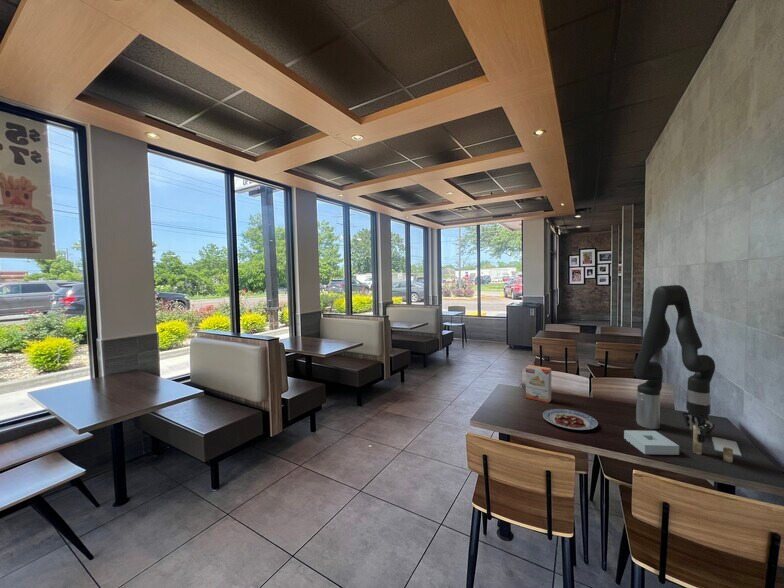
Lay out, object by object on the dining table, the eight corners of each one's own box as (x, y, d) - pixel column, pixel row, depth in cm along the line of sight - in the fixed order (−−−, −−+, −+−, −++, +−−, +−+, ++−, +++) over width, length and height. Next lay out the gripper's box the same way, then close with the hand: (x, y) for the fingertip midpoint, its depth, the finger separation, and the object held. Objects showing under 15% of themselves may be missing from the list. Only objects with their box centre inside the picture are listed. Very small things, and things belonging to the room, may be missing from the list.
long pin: (691, 451, 143) (691, 424, 143) (697, 451, 143) (698, 424, 142) (696, 454, 140) (697, 427, 140) (703, 454, 140) (704, 427, 140)
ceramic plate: (606, 435, 159) (606, 429, 159) (550, 431, 164) (550, 425, 164) (586, 414, 184) (586, 409, 184) (537, 411, 189) (537, 406, 189)
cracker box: (525, 398, 210) (525, 366, 209) (528, 395, 214) (528, 364, 214) (548, 403, 201) (548, 369, 200) (551, 400, 205) (551, 367, 204)
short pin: (721, 458, 137) (721, 447, 136) (728, 459, 136) (728, 447, 136) (727, 462, 134) (727, 450, 134) (734, 462, 134) (734, 450, 133)
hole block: (624, 438, 155) (624, 430, 155) (655, 439, 154) (655, 430, 154) (644, 454, 141) (644, 445, 141) (679, 454, 140) (679, 445, 140)
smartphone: (714, 449, 143) (711, 436, 155) (714, 451, 143) (711, 438, 155) (742, 455, 138) (736, 441, 149) (742, 458, 138) (736, 443, 149)
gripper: (676, 395, 148) (675, 432, 149) (703, 407, 134) (702, 448, 135) (693, 395, 147) (693, 433, 148) (722, 407, 133) (721, 448, 134)
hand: (697, 440), depth 141 cm, fingers closed on long pin, 2 cm apart
